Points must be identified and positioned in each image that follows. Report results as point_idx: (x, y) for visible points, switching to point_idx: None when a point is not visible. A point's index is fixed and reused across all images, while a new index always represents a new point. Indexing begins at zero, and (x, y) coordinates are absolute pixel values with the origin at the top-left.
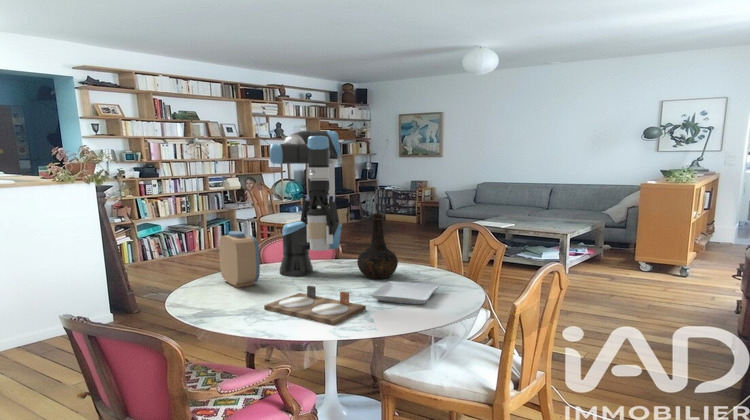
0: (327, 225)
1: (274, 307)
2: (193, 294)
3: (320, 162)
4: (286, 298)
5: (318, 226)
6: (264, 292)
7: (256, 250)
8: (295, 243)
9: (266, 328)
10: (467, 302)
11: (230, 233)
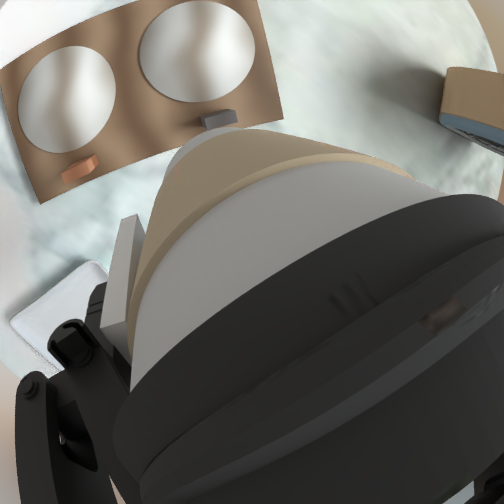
0: (78, 321)
1: None
2: (450, 2)
3: None
4: (255, 48)
5: (161, 217)
6: (380, 84)
7: (501, 132)
8: None
9: None
10: (25, 372)
11: None
